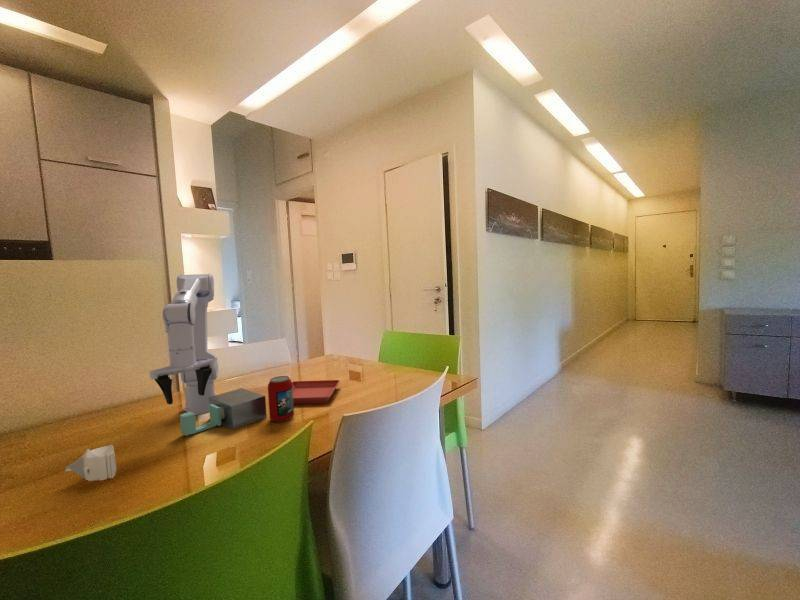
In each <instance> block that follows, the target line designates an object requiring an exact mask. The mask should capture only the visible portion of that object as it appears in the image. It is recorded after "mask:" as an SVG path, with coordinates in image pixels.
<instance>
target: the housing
mask: <svg viewBox="0 0 800 600" xmlns="http://www.w3.org/2000/svg"><path fill="white" fill-rule="evenodd" d="M210 404H213V405H216V406H218V407H220V406H222V407H224V419H221V425H223V426H225V427H227V428H229V429H231V430H236V429H239V428H241V427H244V426H247V425H250V424H252V423H254V422H258V421H260V420H263V419H265V418H267V402H266V395H264V394H261V393H258V392H255V391H251V390H248V389H245V388H237V389H234V390H229V391H226V392H224V393H219V394H215V396H212V397H209V405H210ZM257 420H258V421H257Z"/></svg>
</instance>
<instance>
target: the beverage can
mask: <svg viewBox="0 0 800 600" xmlns="http://www.w3.org/2000/svg"><path fill="white" fill-rule="evenodd" d="M292 382H293V381H292V380H291V379H290V377H289V376H287V375H279V376H274V377H271V378H269V382H268V385H267V396H268V398H267V399H268V409H269V410H268V412H269V419H270V420H271V421H273V422H276V423H282V422H283V423H284V422H286V421H289V420H291V418H293V417H294V414H295V411H294V410H295V409H294V408H295V407H294V404H293V389H292Z"/></svg>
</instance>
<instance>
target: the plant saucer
mask: <svg viewBox="0 0 800 600" xmlns="http://www.w3.org/2000/svg"><path fill="white" fill-rule="evenodd" d="M291 382H292V389H293V405H308V404H309V405H311V404H313V403H314V405H315V404H326V403H328V402H329V400H330V398H331V396H332V395H333V393H334V392H335V390H336V389H337V387H338V385H339V383H340V379H331V380H330V379H329V380H328V379H327V380H326V379H325V380H321V379H320V380H298V381H297V380H296V381H295V380H294V381H291Z"/></svg>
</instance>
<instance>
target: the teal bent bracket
mask: <svg viewBox="0 0 800 600" xmlns="http://www.w3.org/2000/svg"><path fill="white" fill-rule="evenodd" d="M221 419H224V407H222V406H220V407H218V406H216V405H213V404H210V405H209V420H210V421H209V422H208V423H206V424H202V425H199V426H197V423H196V415H195V414H194V413H192V412H184V413H181V414H179V422H180V423H179V424H180V431H181V432H180V433H181V434H182V435H184V436H190V435H194V434H197V433H200V432H203V431H206V430H208V429H211V428H214V427H217V426H218V427H219V426H221V425H222V424H221Z"/></svg>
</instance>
